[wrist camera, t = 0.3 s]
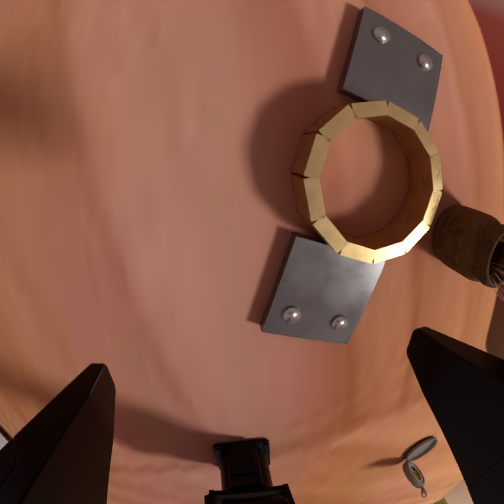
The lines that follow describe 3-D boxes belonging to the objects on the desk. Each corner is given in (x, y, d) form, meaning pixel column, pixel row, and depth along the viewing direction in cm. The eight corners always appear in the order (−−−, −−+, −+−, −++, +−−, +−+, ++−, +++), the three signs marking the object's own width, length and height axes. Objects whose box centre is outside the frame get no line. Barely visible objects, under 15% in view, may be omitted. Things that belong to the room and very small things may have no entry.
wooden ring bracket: (356, 339, 26) (369, 358, 23) (242, 321, 24) (246, 343, 21) (447, 66, 18) (468, 61, 15) (342, 2, 16) (358, -13, 13)
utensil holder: (420, 239, 23) (521, 300, 12) (456, 187, 22) (560, 223, 11) (446, 274, 25) (530, 334, 14) (479, 226, 24) (566, 270, 13)
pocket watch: (441, 431, 38) (465, 468, 28) (419, 457, 40) (440, 492, 31) (409, 442, 36) (433, 484, 27) (387, 468, 39) (407, 507, 30)
